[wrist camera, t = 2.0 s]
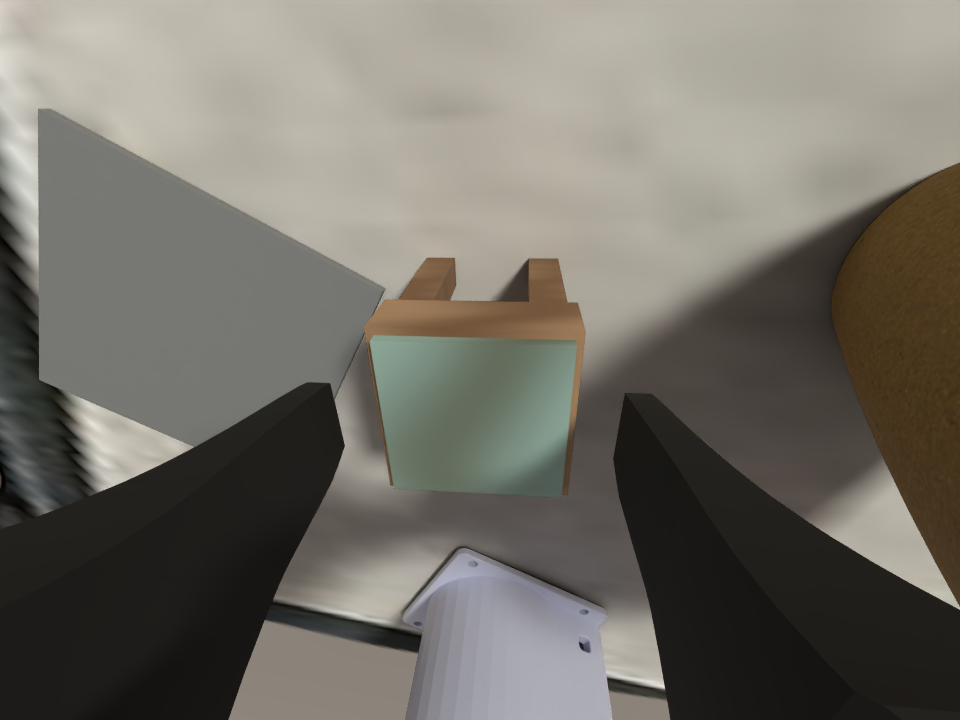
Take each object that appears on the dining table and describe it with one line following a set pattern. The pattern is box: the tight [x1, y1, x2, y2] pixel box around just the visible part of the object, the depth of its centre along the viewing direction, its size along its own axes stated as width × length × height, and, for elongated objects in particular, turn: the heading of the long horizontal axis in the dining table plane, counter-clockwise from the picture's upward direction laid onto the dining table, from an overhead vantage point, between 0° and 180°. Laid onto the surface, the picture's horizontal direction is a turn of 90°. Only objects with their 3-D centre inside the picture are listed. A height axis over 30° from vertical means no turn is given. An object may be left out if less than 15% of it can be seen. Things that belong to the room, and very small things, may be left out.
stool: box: [364, 258, 586, 498], centre depth 13 cm, size 5×5×6 cm
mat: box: [38, 109, 385, 447], centre depth 18 cm, size 12×12×1 cm
